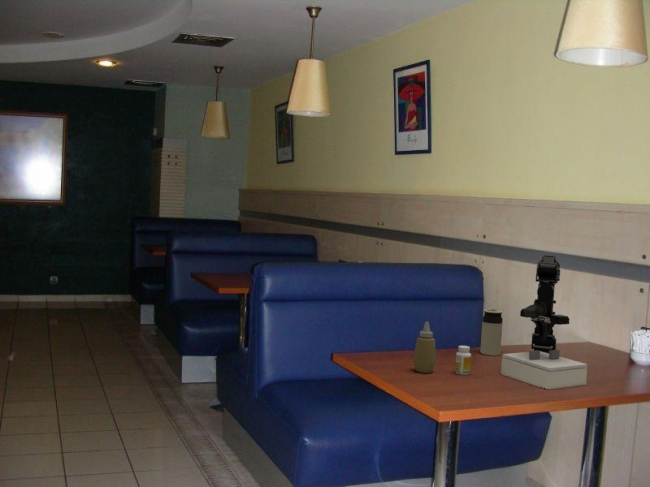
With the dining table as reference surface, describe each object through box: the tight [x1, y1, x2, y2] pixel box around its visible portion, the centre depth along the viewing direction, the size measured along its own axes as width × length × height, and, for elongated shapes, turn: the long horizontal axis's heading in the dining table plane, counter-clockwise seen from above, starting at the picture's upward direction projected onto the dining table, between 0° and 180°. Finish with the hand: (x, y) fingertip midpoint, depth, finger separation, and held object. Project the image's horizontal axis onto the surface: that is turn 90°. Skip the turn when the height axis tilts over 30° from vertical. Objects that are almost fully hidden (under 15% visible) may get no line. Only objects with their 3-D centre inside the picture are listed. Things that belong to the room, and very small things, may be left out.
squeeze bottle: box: [413, 321, 437, 374], centre depth 265 cm, size 8×8×18 cm
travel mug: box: [479, 308, 504, 357], centre depth 301 cm, size 8×8×18 cm
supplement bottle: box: [454, 345, 472, 376], centre depth 265 cm, size 5×5×10 cm
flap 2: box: [526, 349, 588, 371], centre depth 257 cm, size 18×11×4 cm, turn 120°
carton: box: [500, 357, 588, 390], centre depth 262 cm, size 19×22×6 cm
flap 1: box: [502, 350, 562, 364], centre depth 267 cm, size 18×11×4 cm, turn 120°
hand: (542, 339), depth 268 cm, fingers closed
